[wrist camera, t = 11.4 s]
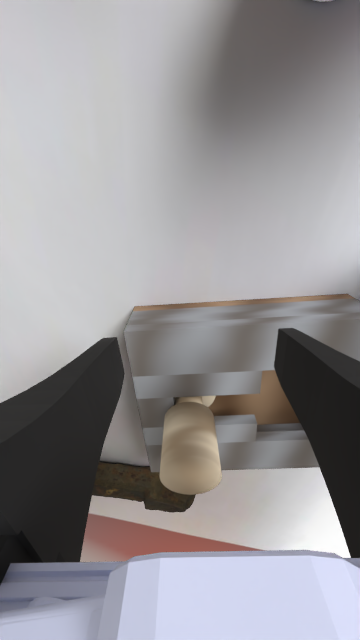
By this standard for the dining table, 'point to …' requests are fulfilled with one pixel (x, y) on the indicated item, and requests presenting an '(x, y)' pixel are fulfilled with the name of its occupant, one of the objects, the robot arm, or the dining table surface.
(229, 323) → the keyhole plate
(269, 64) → the dining table surface
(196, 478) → the keyhole peg
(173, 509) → the hand tool
